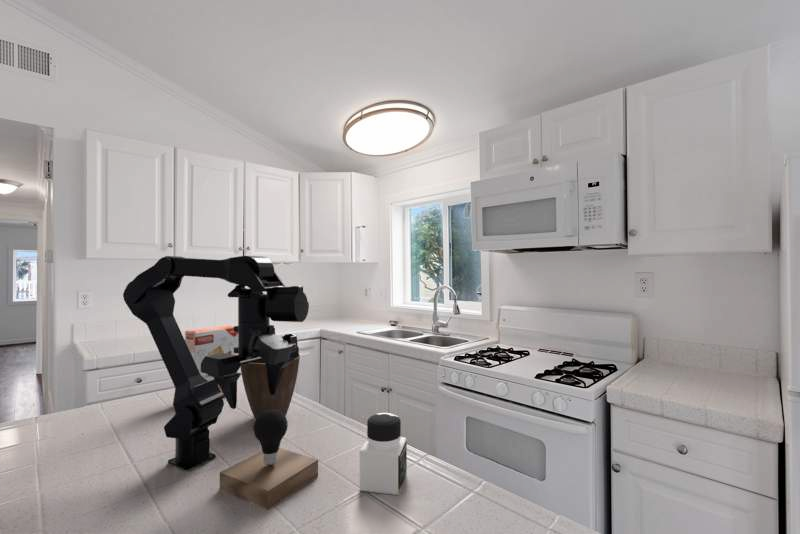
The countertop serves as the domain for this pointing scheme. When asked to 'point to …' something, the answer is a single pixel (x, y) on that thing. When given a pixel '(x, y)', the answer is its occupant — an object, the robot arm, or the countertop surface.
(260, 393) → the plant pot
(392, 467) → the medicine bottle
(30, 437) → the countertop surface
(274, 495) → the walnut base
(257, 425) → the light bulb
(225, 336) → the cracker box
